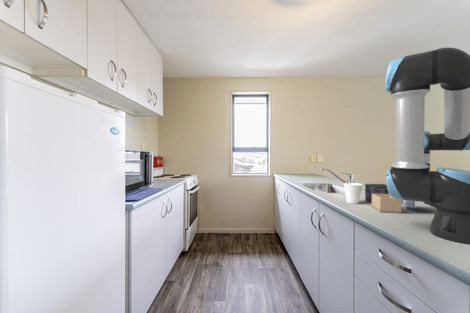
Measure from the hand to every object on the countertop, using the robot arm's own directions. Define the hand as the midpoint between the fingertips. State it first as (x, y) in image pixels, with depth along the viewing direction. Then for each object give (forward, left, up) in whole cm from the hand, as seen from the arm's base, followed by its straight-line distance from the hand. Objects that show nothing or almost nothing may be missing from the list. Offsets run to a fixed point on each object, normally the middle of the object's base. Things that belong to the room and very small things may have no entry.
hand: (419, 205), depth 114 cm
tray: (-3, +16, -2) cm, 16 cm away
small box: (+16, +14, -3) cm, 21 cm away
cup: (+10, +28, -3) cm, 30 cm away
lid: (0, 0, 0) cm, 0 cm away
